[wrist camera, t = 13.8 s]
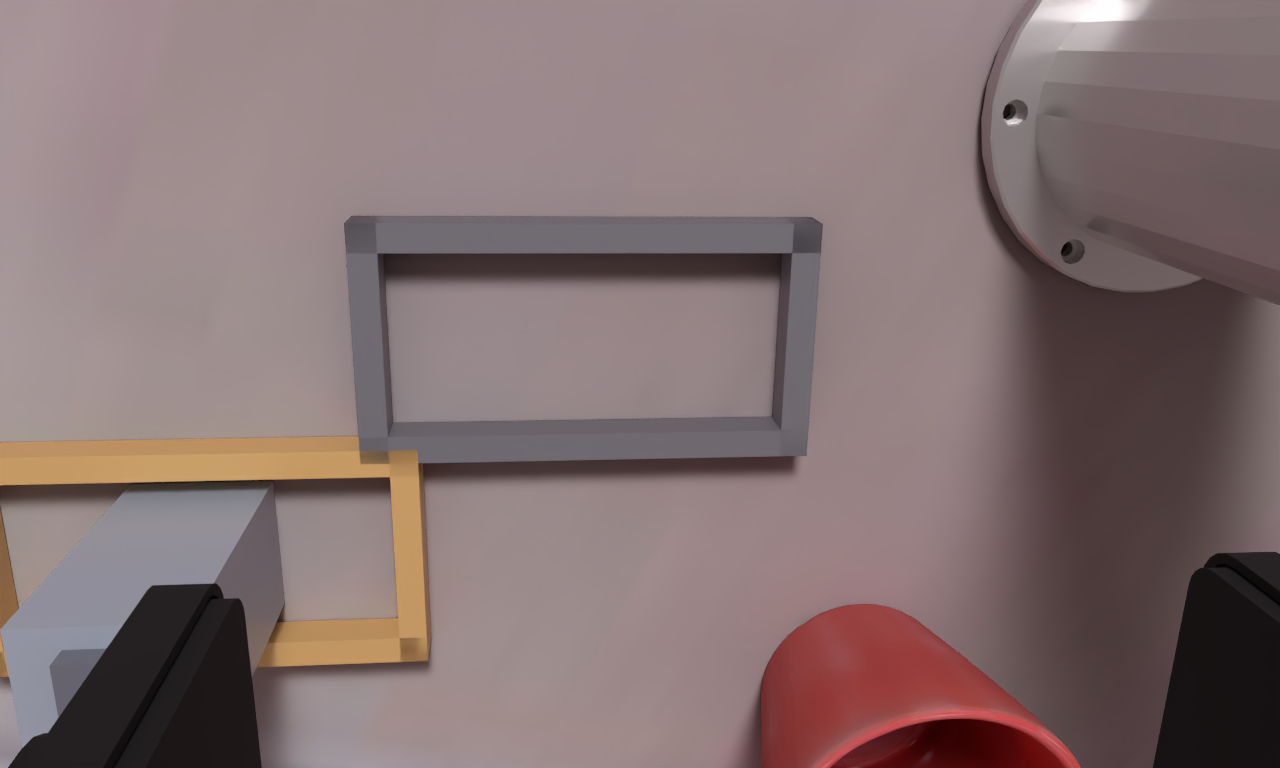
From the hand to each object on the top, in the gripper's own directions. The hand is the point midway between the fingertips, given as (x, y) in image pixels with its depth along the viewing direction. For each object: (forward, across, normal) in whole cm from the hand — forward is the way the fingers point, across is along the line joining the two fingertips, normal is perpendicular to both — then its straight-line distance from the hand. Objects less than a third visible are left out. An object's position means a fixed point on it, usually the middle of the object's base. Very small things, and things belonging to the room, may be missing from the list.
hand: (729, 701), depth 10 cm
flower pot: (+28, -11, +19) cm, 36 cm away
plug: (+28, +14, +12) cm, 34 cm away
